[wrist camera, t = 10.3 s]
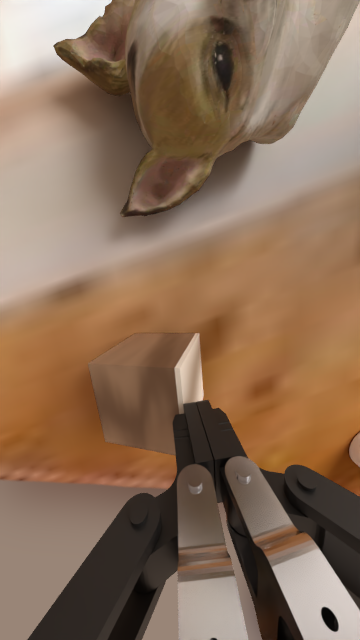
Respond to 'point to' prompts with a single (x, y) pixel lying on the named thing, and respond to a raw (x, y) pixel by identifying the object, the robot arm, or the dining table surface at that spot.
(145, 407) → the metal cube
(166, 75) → the ceramic sculpture
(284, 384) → the dining table surface
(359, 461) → the mug
